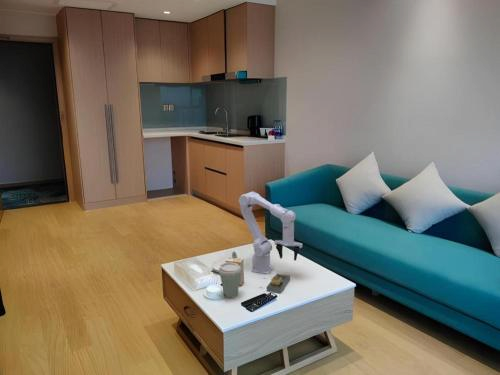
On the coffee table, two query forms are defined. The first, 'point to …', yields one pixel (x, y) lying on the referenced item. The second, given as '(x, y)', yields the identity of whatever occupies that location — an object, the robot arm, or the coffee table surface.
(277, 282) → the wooden block
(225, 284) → the disposable coffee cup
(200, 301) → the coffee table surface
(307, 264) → the coffee table surface
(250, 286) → the coffee table surface
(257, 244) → the robot arm
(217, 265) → the spoon rest
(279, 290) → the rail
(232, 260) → the supplement box
